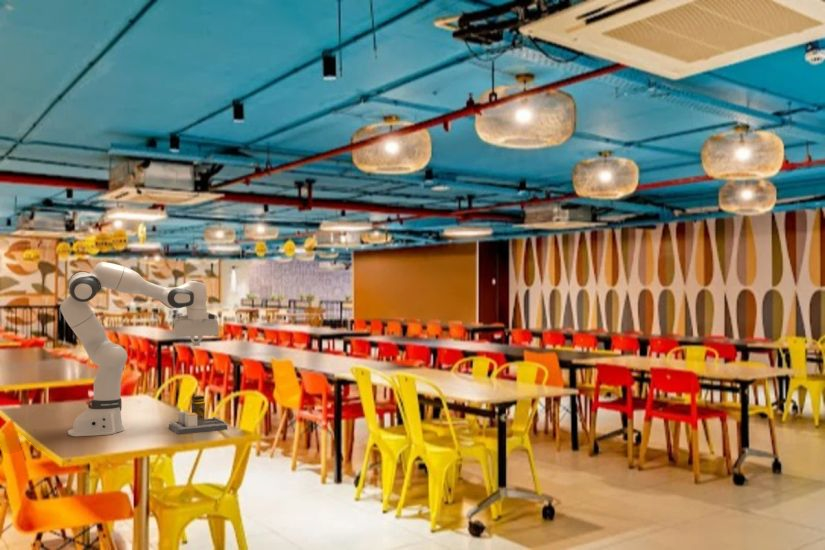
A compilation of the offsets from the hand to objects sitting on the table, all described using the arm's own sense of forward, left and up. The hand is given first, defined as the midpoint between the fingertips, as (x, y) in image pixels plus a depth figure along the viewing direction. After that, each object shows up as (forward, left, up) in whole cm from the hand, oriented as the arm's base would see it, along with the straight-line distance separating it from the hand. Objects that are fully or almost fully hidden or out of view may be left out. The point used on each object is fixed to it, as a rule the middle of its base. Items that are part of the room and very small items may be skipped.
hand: (196, 345), depth 337 cm
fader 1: (-5, -1, -35) cm, 35 cm away
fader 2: (-4, -9, -35) cm, 36 cm away
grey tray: (0, -5, -37) cm, 37 cm away
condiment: (+5, +14, -37) cm, 40 cm away
